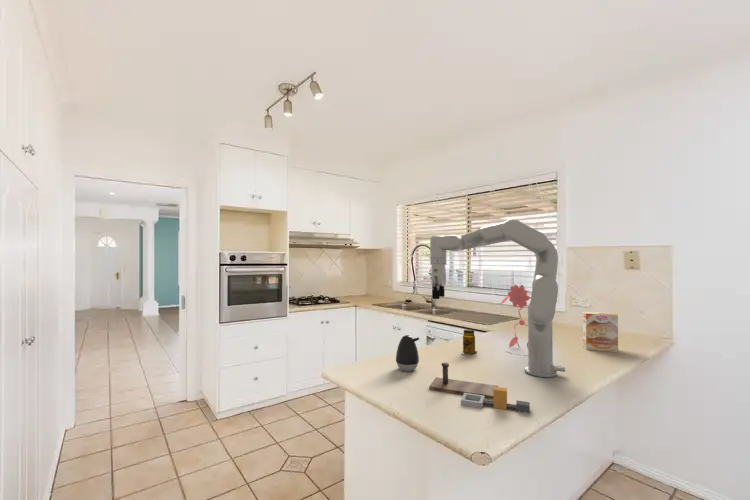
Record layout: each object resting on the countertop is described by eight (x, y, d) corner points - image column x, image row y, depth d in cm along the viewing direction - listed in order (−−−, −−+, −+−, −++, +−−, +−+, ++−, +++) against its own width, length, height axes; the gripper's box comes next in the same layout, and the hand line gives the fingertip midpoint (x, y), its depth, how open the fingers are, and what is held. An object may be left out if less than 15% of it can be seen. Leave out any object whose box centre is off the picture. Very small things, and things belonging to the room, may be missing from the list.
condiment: (461, 354, 184) (461, 330, 184) (463, 350, 192) (463, 327, 192) (476, 355, 181) (476, 331, 181) (477, 351, 189) (477, 328, 189)
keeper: (498, 388, 136) (498, 365, 137) (495, 399, 126) (495, 374, 126) (436, 380, 146) (436, 358, 146) (429, 389, 136) (428, 366, 136)
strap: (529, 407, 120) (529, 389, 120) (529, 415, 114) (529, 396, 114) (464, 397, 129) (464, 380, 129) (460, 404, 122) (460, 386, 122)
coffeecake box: (586, 350, 191) (585, 313, 191) (582, 346, 198) (582, 311, 198) (618, 352, 187) (618, 314, 187) (614, 348, 193) (613, 312, 194)
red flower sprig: (507, 343, 205) (505, 282, 205) (549, 354, 183) (548, 285, 183) (488, 348, 197) (487, 284, 197) (531, 359, 175) (529, 287, 175)
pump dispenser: (418, 374, 154) (418, 338, 154) (394, 372, 156) (394, 337, 156) (420, 366, 164) (420, 333, 164) (397, 365, 166) (397, 332, 166)
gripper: (441, 262, 162) (442, 300, 162) (450, 261, 178) (450, 296, 178) (425, 262, 165) (425, 299, 165) (435, 261, 181) (435, 295, 181)
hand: (438, 297), depth 171 cm, fingers open, 9 cm apart
